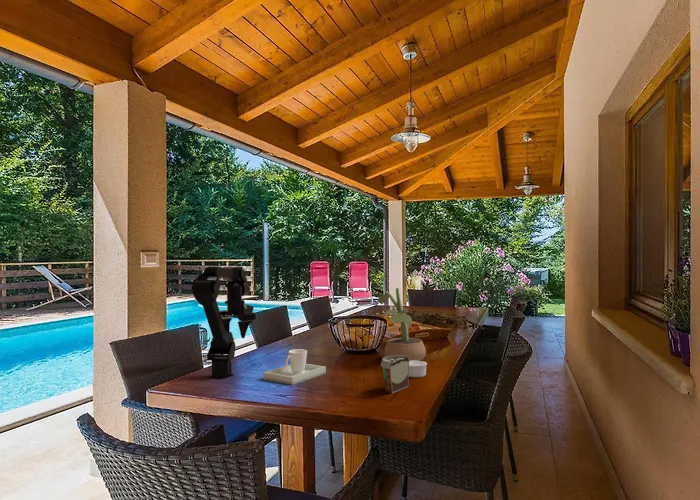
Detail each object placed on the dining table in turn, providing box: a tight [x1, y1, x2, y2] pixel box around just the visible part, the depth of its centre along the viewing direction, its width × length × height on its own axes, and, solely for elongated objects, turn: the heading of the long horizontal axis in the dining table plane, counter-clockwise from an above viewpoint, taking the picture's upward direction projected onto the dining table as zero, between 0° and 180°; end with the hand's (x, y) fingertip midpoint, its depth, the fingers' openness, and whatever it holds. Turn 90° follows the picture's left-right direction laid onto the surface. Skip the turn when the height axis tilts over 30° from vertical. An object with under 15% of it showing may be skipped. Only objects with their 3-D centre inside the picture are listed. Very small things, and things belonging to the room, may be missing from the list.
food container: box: [380, 355, 410, 394], centre depth 155 cm, size 12×6×10 cm, turn 141°
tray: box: [263, 363, 327, 386], centre depth 173 cm, size 18×14×2 cm
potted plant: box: [376, 287, 427, 361], centre depth 194 cm, size 22×18×30 cm
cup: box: [284, 348, 308, 375], centre depth 173 cm, size 7×10×8 cm
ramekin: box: [409, 360, 428, 378], centre depth 171 cm, size 9×9×4 cm
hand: (235, 337), depth 189 cm, fingers open, 9 cm apart
